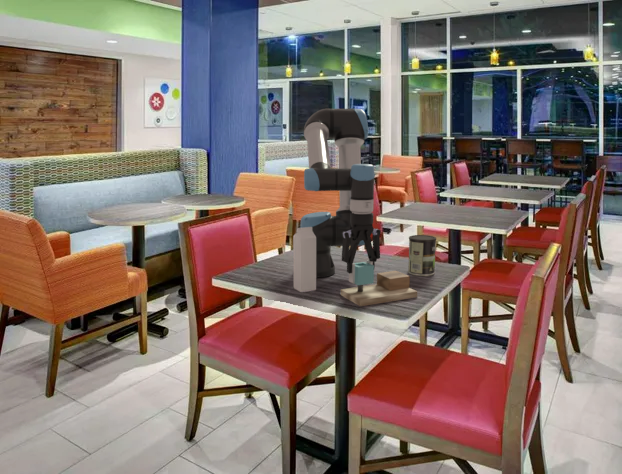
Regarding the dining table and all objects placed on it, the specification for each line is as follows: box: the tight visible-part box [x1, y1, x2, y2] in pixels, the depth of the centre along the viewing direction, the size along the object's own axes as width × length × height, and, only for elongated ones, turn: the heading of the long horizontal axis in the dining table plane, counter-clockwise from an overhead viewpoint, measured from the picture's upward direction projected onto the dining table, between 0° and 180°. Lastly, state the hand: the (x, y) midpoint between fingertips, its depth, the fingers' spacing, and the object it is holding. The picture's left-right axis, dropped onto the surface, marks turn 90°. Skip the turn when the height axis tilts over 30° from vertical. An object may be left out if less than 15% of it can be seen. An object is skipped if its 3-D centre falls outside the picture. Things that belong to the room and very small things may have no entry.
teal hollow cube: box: [353, 261, 375, 286], centre depth 180 cm, size 6×6×6 cm
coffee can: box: [407, 234, 437, 277], centre depth 211 cm, size 10×10×14 cm
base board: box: [340, 283, 418, 307], centre depth 182 cm, size 13×22×10 cm, turn 116°
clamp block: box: [376, 270, 411, 290], centre depth 187 cm, size 8×8×4 cm
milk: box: [292, 227, 317, 293], centre depth 189 cm, size 6×6×22 cm
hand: (360, 281), depth 181 cm, fingers closed on teal hollow cube, 6 cm apart
